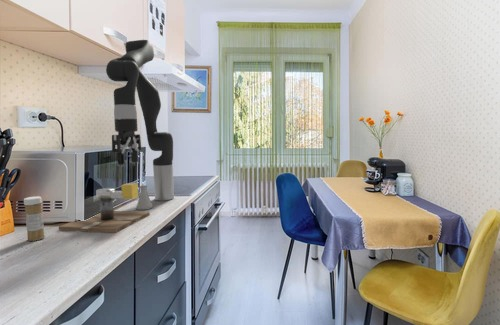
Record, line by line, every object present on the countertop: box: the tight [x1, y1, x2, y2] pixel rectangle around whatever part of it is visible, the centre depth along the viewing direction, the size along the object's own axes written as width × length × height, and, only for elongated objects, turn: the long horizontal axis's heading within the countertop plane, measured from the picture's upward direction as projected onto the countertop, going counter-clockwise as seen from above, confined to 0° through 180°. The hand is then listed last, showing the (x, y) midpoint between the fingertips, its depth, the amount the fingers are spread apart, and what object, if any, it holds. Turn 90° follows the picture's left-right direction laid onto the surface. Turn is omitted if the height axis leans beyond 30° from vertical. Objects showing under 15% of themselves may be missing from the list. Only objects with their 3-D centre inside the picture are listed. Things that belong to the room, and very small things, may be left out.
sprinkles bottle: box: [23, 196, 45, 242], centre depth 96 cm, size 5×5×13 cm
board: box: [58, 210, 150, 234], centre depth 113 cm, size 23×22×1 cm
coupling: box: [95, 182, 139, 200], centre depth 112 cm, size 15×6×5 cm, turn 79°
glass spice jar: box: [99, 198, 115, 220], centre depth 114 cm, size 6×4×8 cm
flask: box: [135, 185, 154, 211], centre depth 133 cm, size 7×7×10 cm
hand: (128, 163), depth 110 cm, fingers open, 8 cm apart
